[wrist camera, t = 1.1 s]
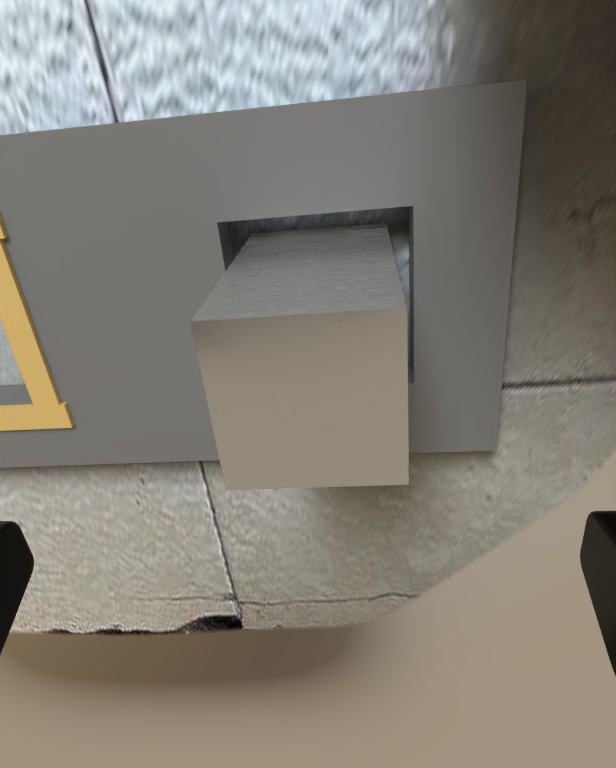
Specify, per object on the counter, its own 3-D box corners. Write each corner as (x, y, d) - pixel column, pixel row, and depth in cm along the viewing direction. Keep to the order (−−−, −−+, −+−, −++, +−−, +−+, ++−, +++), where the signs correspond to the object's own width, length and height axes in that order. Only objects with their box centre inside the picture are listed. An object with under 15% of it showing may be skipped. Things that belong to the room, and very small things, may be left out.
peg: (385, 222, 18) (407, 307, 11) (389, 346, 20) (408, 484, 13) (252, 233, 18) (189, 321, 11) (269, 353, 20) (225, 489, 13)
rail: (512, 80, 16) (529, 79, 14) (487, 428, 21) (497, 453, 20) (-273, 164, 18) (-327, 170, 17) (-112, 451, 24) (-142, 475, 23)
